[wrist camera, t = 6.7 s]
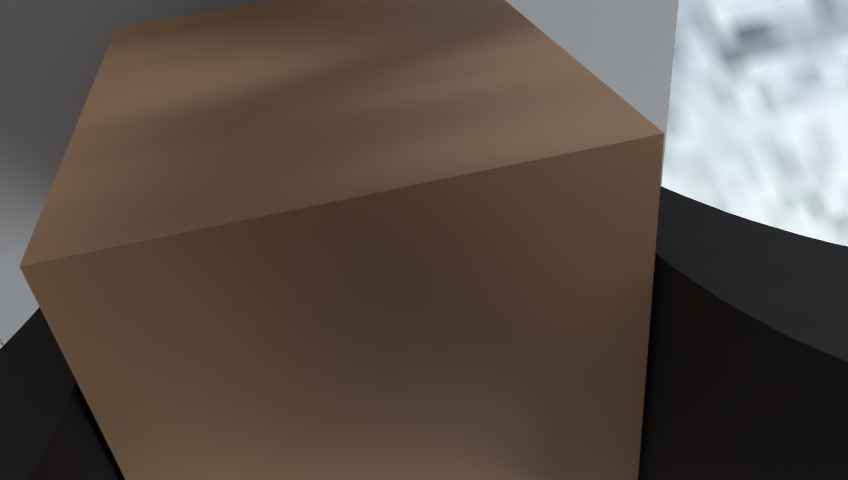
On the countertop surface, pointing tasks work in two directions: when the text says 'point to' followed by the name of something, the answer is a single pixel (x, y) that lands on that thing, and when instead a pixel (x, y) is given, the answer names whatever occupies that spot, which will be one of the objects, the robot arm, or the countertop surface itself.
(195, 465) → the walnut block
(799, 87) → the countertop surface
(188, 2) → the slate mat
